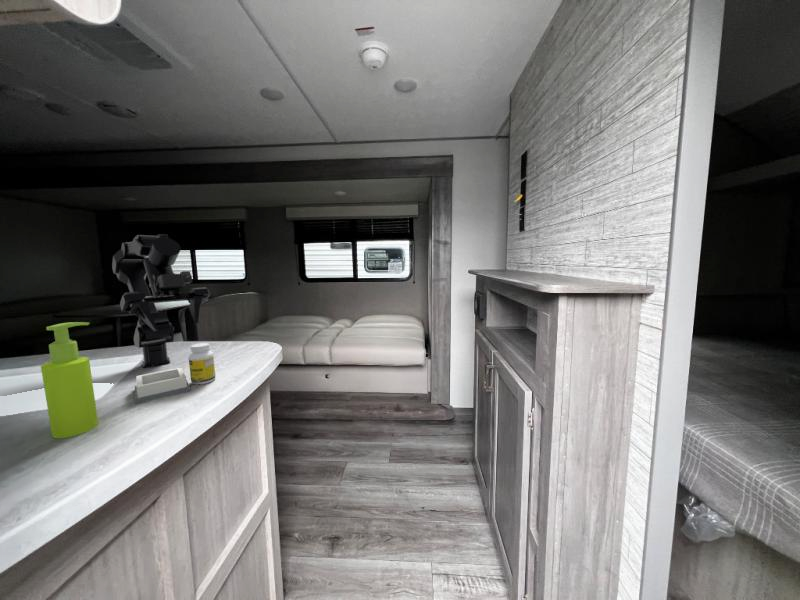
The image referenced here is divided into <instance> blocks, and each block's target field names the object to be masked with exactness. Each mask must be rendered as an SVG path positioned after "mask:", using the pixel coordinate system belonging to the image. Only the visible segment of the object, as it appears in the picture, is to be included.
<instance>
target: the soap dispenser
mask: <svg viewBox="0 0 800 600" xmlns="http://www.w3.org/2000/svg"><path fill="white" fill-rule="evenodd" d="M89 325H90V322H86V321H85V322H84V321H82V322H81V321H80V322H79V321H73V322H72V321H69V322H68V321H67V322H62V323H56V324H53V325H50V326H49V325H48V326H46V331H53V335H54V340H55V341H53V342H52V343H50V344H48V350H49V355H50V356H49V357H50V361H49V362H46V363H44V364H41V365H40V371H41V376H42V382H43V387H44V393H45V401H46V406H47V413H48V418H49V424H50V431H51V437H52V438H53V439H66V438H71V437H75V436H79V435H82V434H85V433H87V432H89V431H92V430H93V429H95V428H96V427H97V426H98V425H99V420H98V413H97V406H96V405H97V404H96V397H95V391H94V384H93V377H92V376H93V375H92V369H91V364H90V362H91V361H90V358H89V357H87V356H80V355H79V354H80V353H79V347H78V341H76V340H73V339H70V334H69V329H68V328H72V327H76V326H78V327H79V326H89Z"/></svg>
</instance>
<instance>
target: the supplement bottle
mask: <svg viewBox="0 0 800 600" xmlns="http://www.w3.org/2000/svg"><path fill="white" fill-rule="evenodd" d="M210 349H211V348H210V343H209V342H200V343H194V344H192V345H191V346H190V351H191V352H192V353H191V354H189V356H188V364H189V376H190V383H191V384H193V385H198V384H200V385H206V384H209V383H212V382H214V381H215V379H216V369H215V357H214V353H213V351H211V350H210Z"/></svg>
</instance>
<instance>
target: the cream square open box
mask: <svg viewBox="0 0 800 600" xmlns="http://www.w3.org/2000/svg"><path fill="white" fill-rule="evenodd" d="M135 379H136V385H135V386H134V402H135V403H134V404H139V403H144V402H148V401H153V400H157V399H161V398H166V397H170V396H173V395H179V394H182V392H183V393H186V391H187V392H190V391H191V387H190V385H189V382H188V380H187V376H186V374H185V372H184V369H183V368H182V367H178V368H177V367H176V368H171V369H166V370H160V371H155V372H149V373H145V374H141V375H136V378H135Z"/></svg>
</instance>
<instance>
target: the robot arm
mask: <svg viewBox="0 0 800 600" xmlns="http://www.w3.org/2000/svg"><path fill="white" fill-rule="evenodd" d="M181 249H182V248H181V245H180V244H179V243H178V242H177V241H176V240H174V239H173V238H170V237H169V235H168V234H165V233H164V234H160V233H159V234H157V235H147V234H146V235H144V234H136V235H135V237H133V239H132V241H129V242H128V241H125V242H122V243H121V248H120V249H119V250H118V251H117V252H115V254H113V256H112V263H111V266H112V267H111V268H112V272H113V274H114V275H116V278H117V279H118V281H119V282H121V283H123V284H125V285H127V287H128V290H129V291H128V292H124V293H123V294H122V296H121V299H120V302H119V305H120V310H121V312H122V313H129V314H130V315H135V316H137V317H138V319H137V324H136V327H135V329H134V334H133V342H134V347H136V348H139V349H141V348H142V354H143V355H142V356H143V360H142V368H148V367H147V366H150V367H153V366H152V365H155V366H158V365H157V364H161V365H163V364H162V363H167V364H169V363H168V362H170V363H171V360H170V357H169V356H168V349H167V343H173V342H174V340H175V339H174V333H175V331H174V330H175V326H173V323H172V322H171V321H170V320H169V318H168V315H167V313H166V312H165V311H158V310H157V307H156V305H155V304H159V303H170V302H180V301H187V302H188V304H189V306H188V308H189V312H190V314H191V318H192V320H193V323H194V325H196V326H197V325H198V324H199V319H200V318H199V316H200V308H201V306H202V305H203V304H205V303H206V302H207V301H208V299H209V298H210V296H211V293H210V290H209V289H208V288H207V287H205V286H204V287H192V288H190V289H191V290H190V291H189V292H186V293H185V292H184V293H181V292H182V291H183V290H184V288H183V287H186V285H187V284H191V283H193V277H192V273H191V271H190V270H188V271H187V270H186V271H181V272H180V273H175V272H174V271H173V267H172V266H173V265H174V264H175V263H176V261H177V258H178V257H179V254H180V253H181ZM127 256H138V257H141V258H142V259H141V258H138V259H137V258H135V259H133V258H132V259H131V258H130V259H129V258H127ZM126 258H127V259H126ZM146 278H147V279H148V282H149V283H148V285H147V282H146ZM148 286H149V287H148ZM149 288H150V289H151V291H150V289H149ZM151 292H152V294H151Z"/></svg>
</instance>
